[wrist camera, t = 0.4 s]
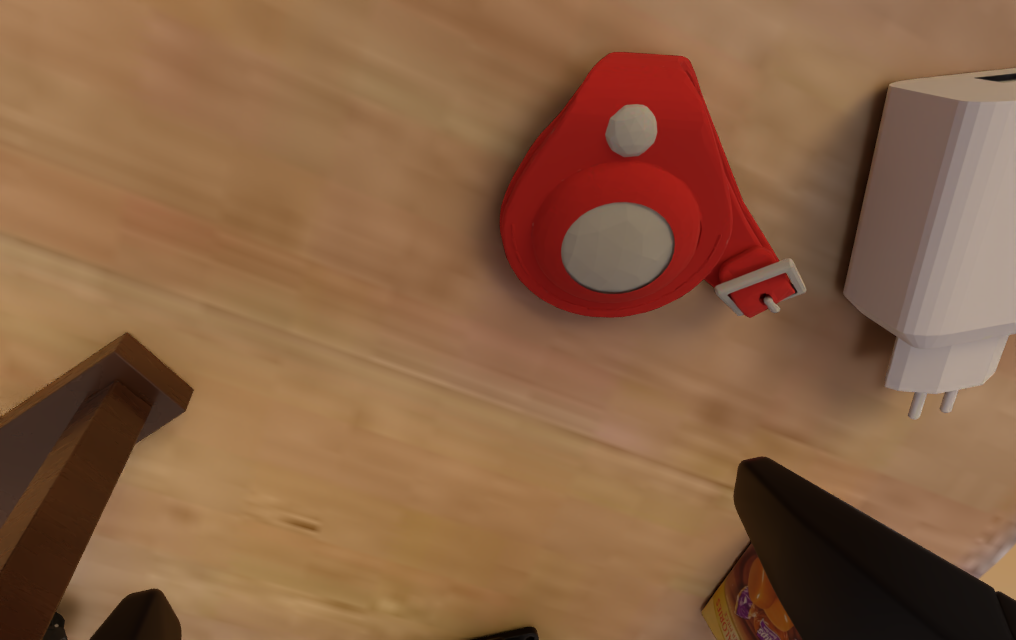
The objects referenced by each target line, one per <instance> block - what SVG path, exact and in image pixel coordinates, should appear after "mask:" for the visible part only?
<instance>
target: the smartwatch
mask: <svg viewBox="0 0 1016 640" xmlns="http://www.w3.org/2000/svg"><path fill="white" fill-rule="evenodd" d="M64 623H65V620H64V619H63V617H62V615H60V614H59V613H57V612H55V614H54V616H53V618H52V620H51V622H50V624H49V626H48V628H47V631H46V633H45V635H44V637H43V639H42V640H67V636H66V633H65V629H64Z"/></svg>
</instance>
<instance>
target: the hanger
mask: <svg viewBox="0 0 1016 640" xmlns="http://www.w3.org/2000/svg"><path fill="white" fill-rule="evenodd" d="M193 391H194V390H193V389H192V388H191V387H190V386H189V385H187V384H186V383H185V382H184V381H183V380H182V379H181V378H179V377H178V376H177V375H176V374H175V373H174V372H172V371H171V370H170V369H169V368H168V367H167V366H166V365H164V364H163V363H162V362H161V361H160V360H159V359H157V358H156V357H155V356H154V355H153V354H152V353H151V352H149V351H148V350H147V349H146V348H145V347H144V346H142V345H141V344H140V343H139V342H138V341H137V340H136V339H134V338H133V337H132V336H131V335H130V334H129V333H125V334H123V335H122V336H120V337H119V338H117V339H116V340H114V341H113V342H111V343H110V344H109V345H107V346H106V347H104V348H103V349H101V350H100V351H98V352H97V353H95V354H94V355H92V356H91V357H89V358H88V359H86V360H85V361H83V362H82V363H80V364H79V365H78V366H76V367H75V368H73V369H72V370H70V371H69V372H67V373H66V374H64V375H63V376H61V377H60V378H58V379H57V380H55V381H54V382H52V383H51V384H49V385H48V386H46V387H45V388H44V389H42V390H41V391H39V392H38V393H36V394H35V395H33V396H32V397H30V398H29V399H27V400H26V401H24V402H23V403H21V404H20V405H18V406H17V407H15V408H14V409H13V410H11V411H10V412H8V413H7V414H5V415H4V416H2V417H1V418H0V640H42V639H43V637H44V635H45V633H46V631H47V628H48V626H49V624H50V622H51V620H52V618H53V616H54V614H55V612H56V609H57V607H58V605H59V603H60V601H61V599H62V597H63V595H64V593H65V590H66V588H67V586H68V584H69V582H70V580H71V578H72V576H73V574H74V571H75V569H76V567H77V565H78V563H79V561H80V559H81V557H82V555H83V552H84V550H85V548H86V546H87V544H88V542H89V540H90V538H91V536H92V533H93V531H94V529H95V527H96V525H97V523H98V521H99V519H100V517H101V514H102V512H103V510H104V508H105V506H106V504H107V502H108V500H109V498H110V496H111V493H112V491H113V489H114V487H115V485H116V483H117V481H118V479H119V477H120V474H121V472H122V470H123V468H124V466H125V464H126V462H127V460H128V458H129V455H130V453H131V451H132V449H133V447H134V445H135V444H136V443H138V442H139V441H141V440H142V439H144V438H145V437H147V436H148V435H150V434H151V433H153V432H154V431H156V430H157V429H159V428H160V427H162V426H164V425H165V424H167V423H168V422H170V421H171V420H173V419H174V418H176V417H177V416H179V415H180V414H182V413H183V412H185V411H186V408H187V406H188V403H189V401H190V398H191V396H192V393H193Z"/></svg>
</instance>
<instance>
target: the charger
mask: <svg viewBox="0 0 1016 640" xmlns="http://www.w3.org/2000/svg"><path fill="white" fill-rule="evenodd" d="M843 294H844V296H845V297H846V298H847V299H848V300H849V301H850V302H851V303H852V304H853V305H854V306H855V307H856V308H857V309H858V310H859V311H860V312H861V313H862V314H864V315H865V316H867V317H868V318H870V319H871V320H873V321H874V322H876V323H877V324H879V325H880V326H882V327H883V328H885V329H886V330H888V331H889V332H891V333H892V334H894V335H895V336H897V337H896V340H895V344H894V348H893V351H892V355H891V358H890V362H889V366H888V369H887V373H886V377H885V387H887V388H890V389H894V390H897V391H907V392H915V394H914V397H913V400H912V403H911V407H910V410H909V413H908V416H909V417H910V418H911V419H918V418H919V417H920V414H921V411H922V408H923V405H924V402H925V399H926V396H927V393H930V394H938V393H944V392H945V394H944V397H943V400H942V403H941V406H940V410H941V411H942V412H944V413H949V412H951V410H952V408H953V405H954V402H955V399H956V396H957V393H958V390H959V389H964V388H969V387H974V386H979V385H983V384H984V383H985V382H986V381H987V380H988V379H989V378H990V377H991V376H992V375H993V374H994V373H995V371H996V368H997V366H998V363H999V360H1000V358H1001V355H1002V352H1003V350H1004V347H1005V344H1006V342H1007V339H1008V336H1009V335H1010V334H1016V68H1009V69H1000V70H991V71H982V72H973V73H964V74H954V75H945V76H936V77H927V78H918V79H910V80H903V81H898V82H894V83H891V84H889V87H888V91H887V96H886V100H885V105H884V109H883V114H882V119H881V123H880V128H879V132H878V137H877V141H876V146H875V150H874V155H873V160H872V164H871V169H870V173H869V178H868V182H867V187H866V191H865V196H864V200H863V205H862V210H861V214H860V219H859V223H858V228H857V232H856V237H855V241H854V246H853V251H852V255H851V260H850V264H849V269H848V273H847V278H846V282H845V287H844V292H843Z"/></svg>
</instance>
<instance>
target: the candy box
mask: <svg viewBox="0 0 1016 640" xmlns="http://www.w3.org/2000/svg"><path fill="white" fill-rule="evenodd" d="M702 615H703V617H704V619H705V621H706V622H707V624H708V626H709V628H710V629H711V631H712V633H713V635H714V636H715V638H716V640H802V638H801V636H800V635H799V633H798V631H797V630H796V628H795V626H794V625H793V623H792V621H791V620H790V618H789V616H788V615H787V613H786V611H785V610H784V608H783V606H782V604H781V602H780V601H779V599H778V597H777V595H776V593H775V591H774V589H773V587H772V585H771V583H770V581H769V579H768V577H767V575H766V573H765V571H764V568H763V566H762V564H761V562H760V560H759V558H758V555H757V553H756V551H755V549H754V547H753V545H752V543H751V544H750V546H749V547H748V548H747V550H746V551H745V552H744V554H743V555H742V556H741V558H740V559H739V560H738V562H737V563H736V565H735V566H734V567H733V569H732V570H731V572H730V573H729V574H728V576H727V577H726V579H725V580H724V581H723V583H722V584H721V585H720V586H719V588H718V589H717V591H716V592H715V594H714V595H713V596H712V598H711V599H710V601H709V602H708V604H707V605H706V606H705V608H704V609H703V610H702Z"/></svg>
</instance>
